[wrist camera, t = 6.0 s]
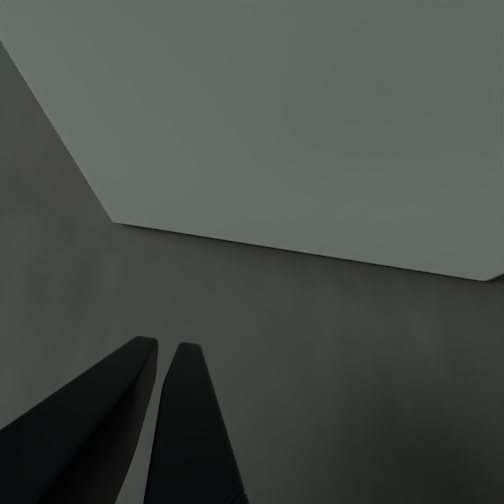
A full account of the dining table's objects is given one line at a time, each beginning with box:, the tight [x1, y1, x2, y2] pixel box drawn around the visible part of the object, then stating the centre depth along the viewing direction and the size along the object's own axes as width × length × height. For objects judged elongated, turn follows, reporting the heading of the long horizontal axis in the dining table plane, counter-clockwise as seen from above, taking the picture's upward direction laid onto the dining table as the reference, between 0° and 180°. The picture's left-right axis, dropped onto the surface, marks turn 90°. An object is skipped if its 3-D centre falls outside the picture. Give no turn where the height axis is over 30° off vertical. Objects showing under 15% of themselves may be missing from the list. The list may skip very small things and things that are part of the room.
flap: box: [0, 0, 504, 281], centre depth 11 cm, size 1×16×12 cm, turn 82°
